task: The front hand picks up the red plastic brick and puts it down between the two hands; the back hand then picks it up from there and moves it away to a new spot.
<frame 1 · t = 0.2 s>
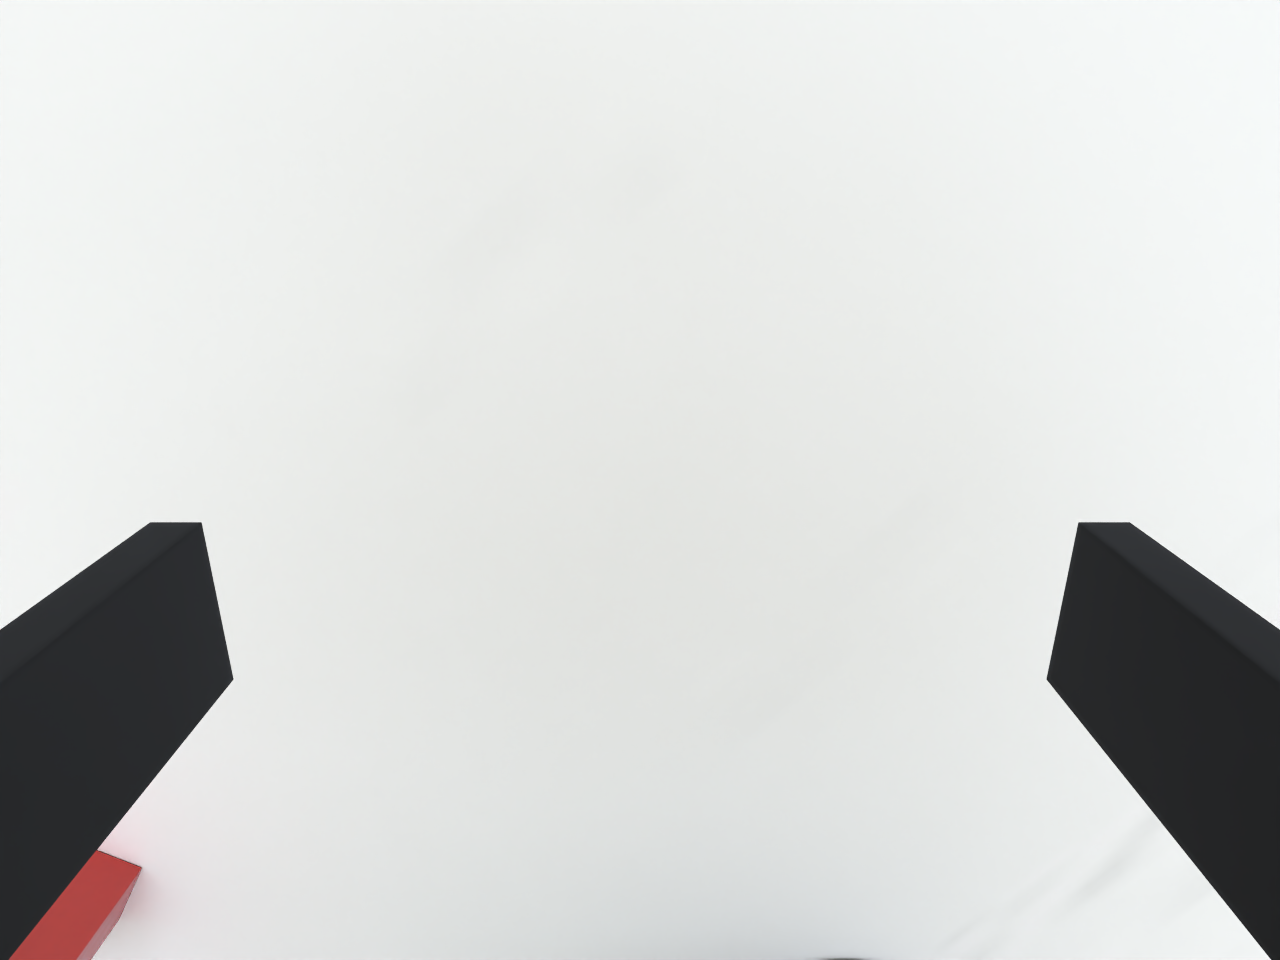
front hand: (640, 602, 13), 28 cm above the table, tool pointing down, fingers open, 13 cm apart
brick: (69, 871, 51), on the table
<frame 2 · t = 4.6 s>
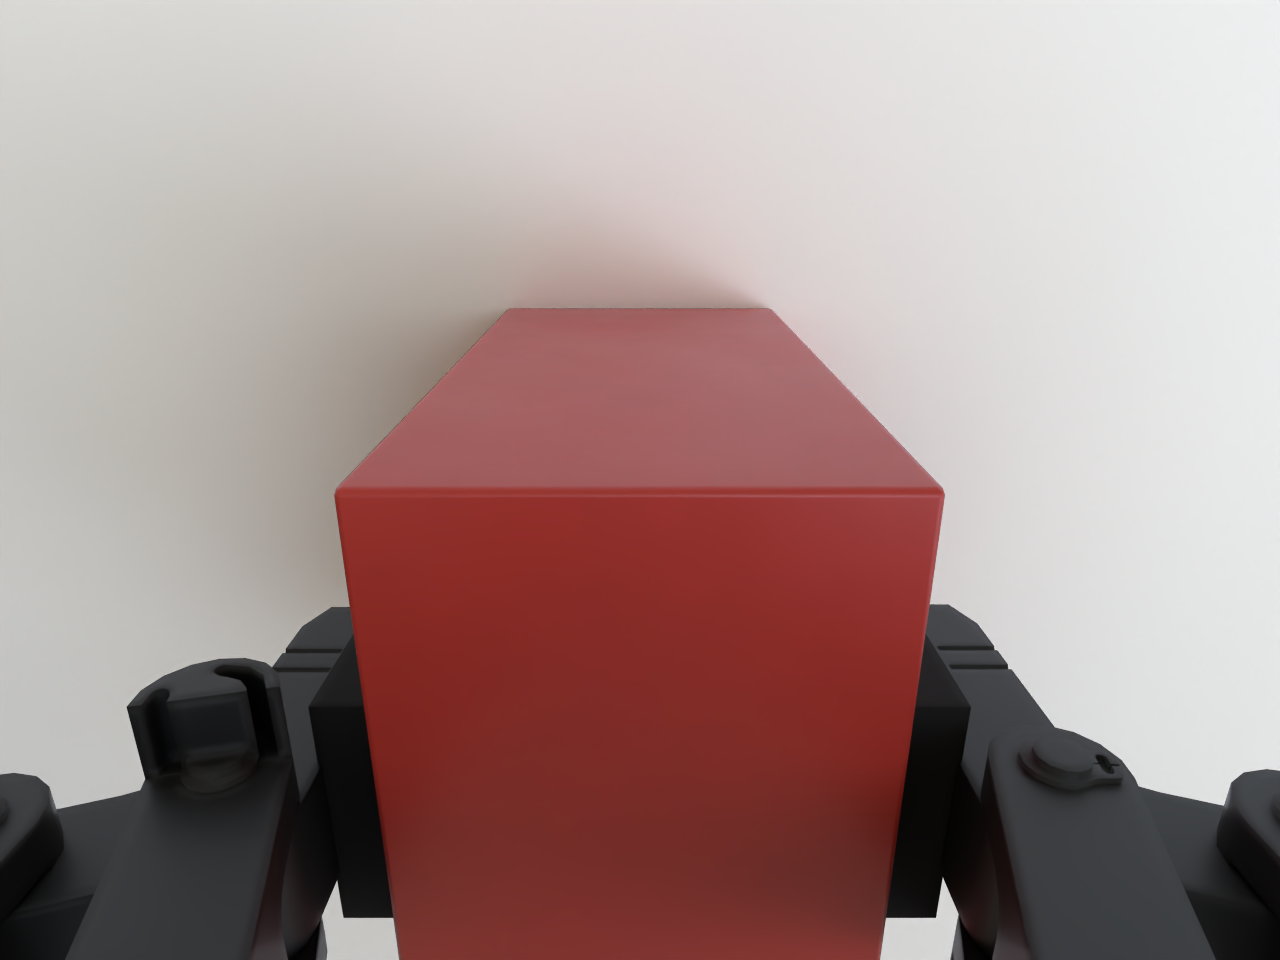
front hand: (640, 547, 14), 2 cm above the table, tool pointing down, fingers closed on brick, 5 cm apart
brick: (639, 499, 17), on the table, touching front hand
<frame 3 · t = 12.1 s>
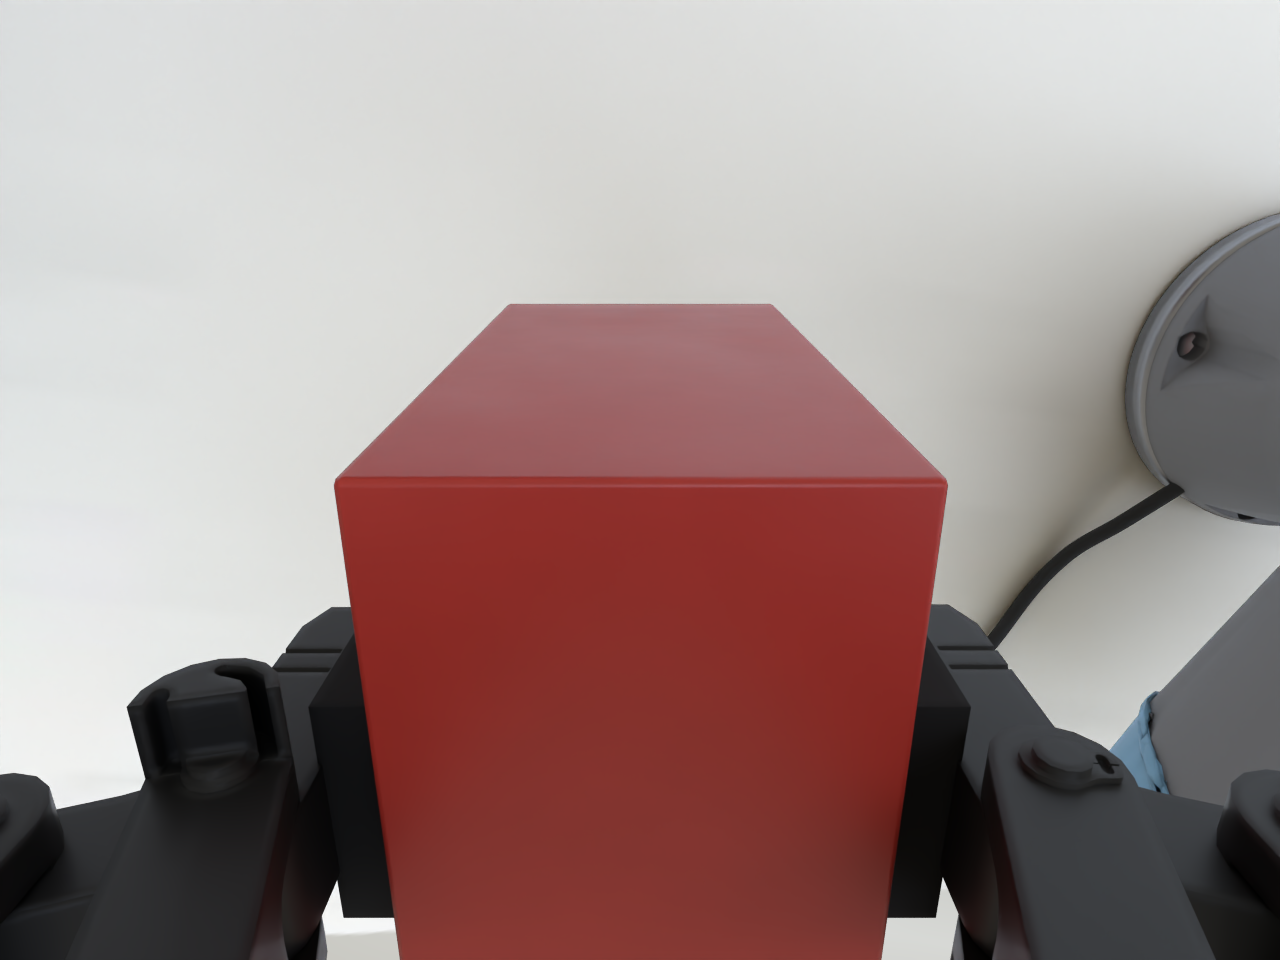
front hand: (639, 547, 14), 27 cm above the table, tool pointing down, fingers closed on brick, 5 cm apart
brick: (640, 495, 16), point 25 cm above the table, touching front hand
when the front hand's fingers open (4 cm above the table, at t = 19.5 s): brick drops 1 cm, on the table.
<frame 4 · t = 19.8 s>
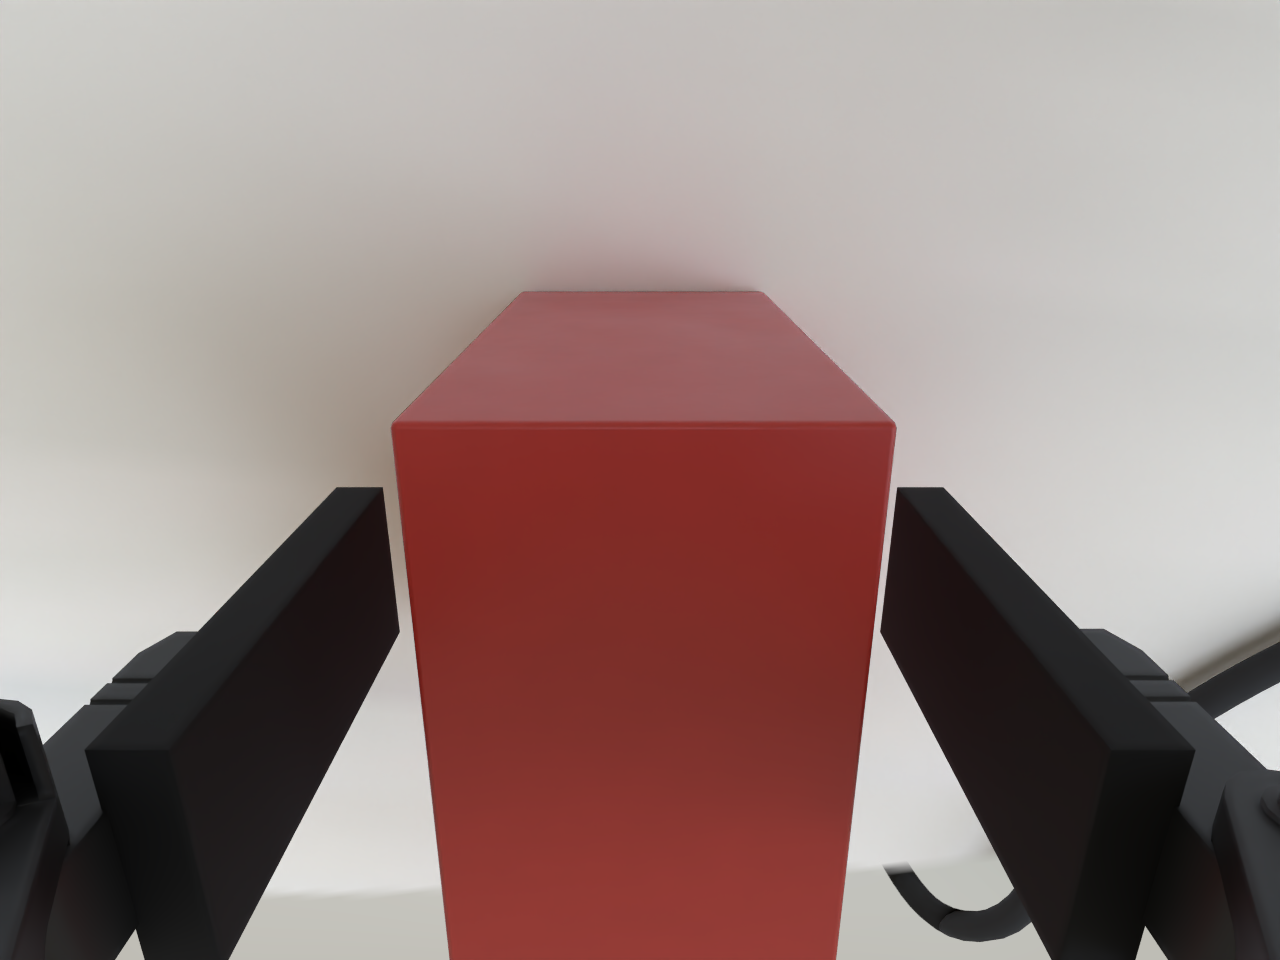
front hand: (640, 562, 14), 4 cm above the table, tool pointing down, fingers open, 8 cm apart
brick: (642, 469, 18), on the table
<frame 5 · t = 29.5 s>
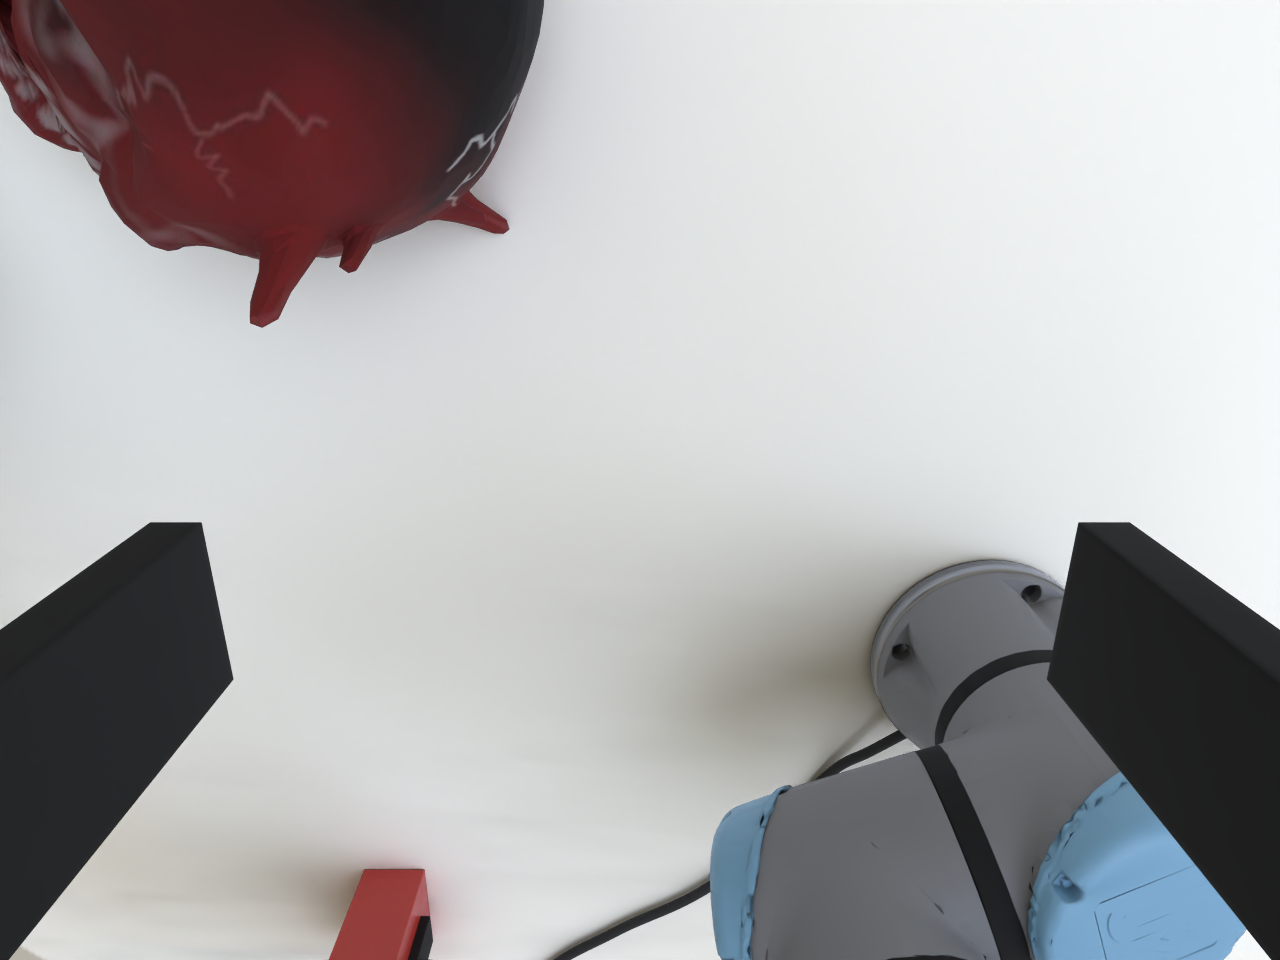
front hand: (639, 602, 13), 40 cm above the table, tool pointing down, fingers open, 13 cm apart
dark red round lump: (332, 32, 46), on the table
brick: (399, 904, 68), on the table, touching back hand
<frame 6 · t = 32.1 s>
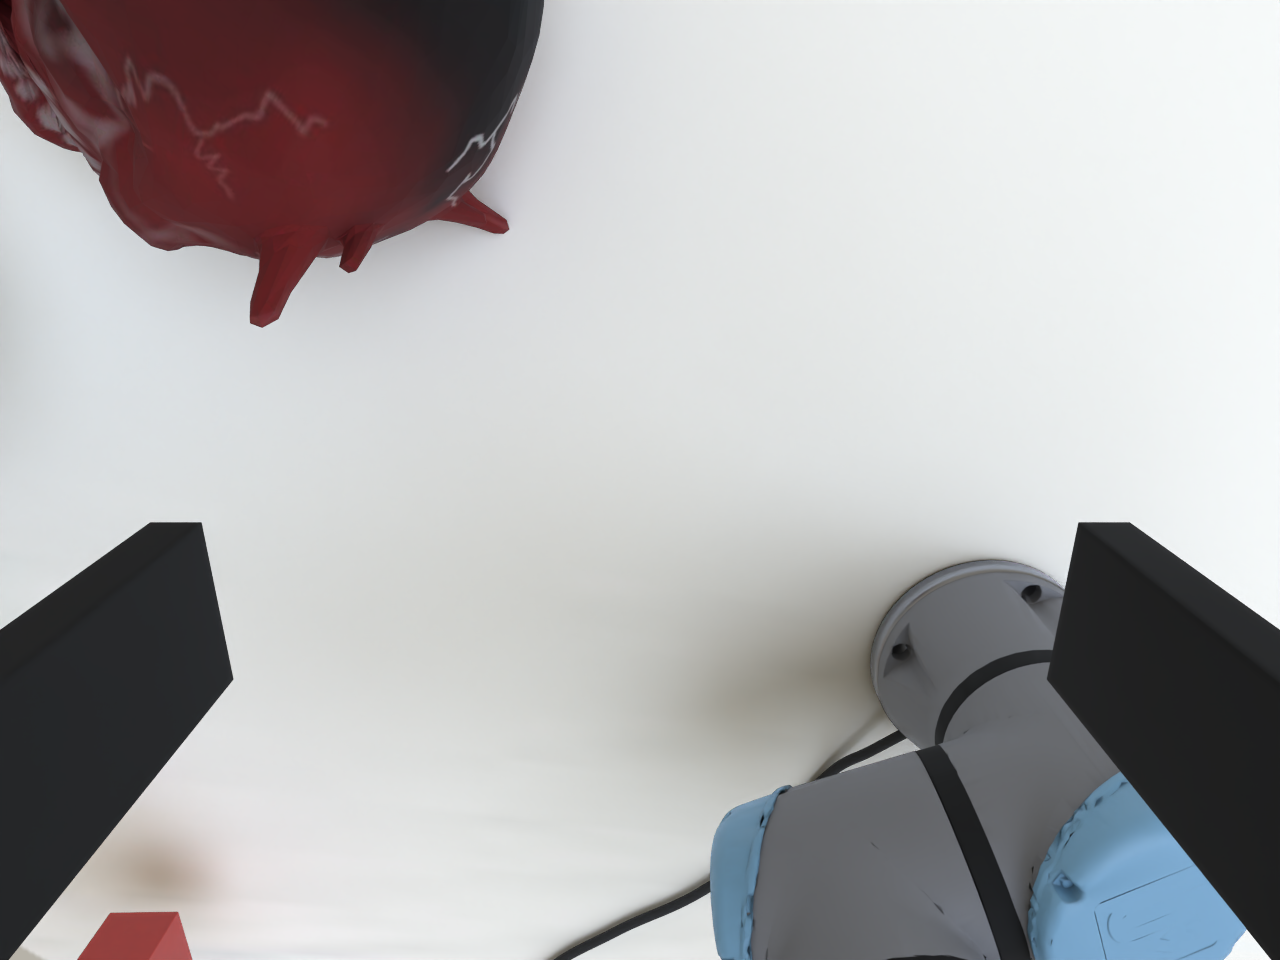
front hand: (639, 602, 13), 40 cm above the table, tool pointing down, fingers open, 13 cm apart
dark red round lump: (332, 32, 46), on the table
brick: (156, 950, 60), point 7 cm above the table, touching back hand
when the back hand's fingers open (4 cm above the table, at t = 34.5 s): brick drops 1 cm, on the table.
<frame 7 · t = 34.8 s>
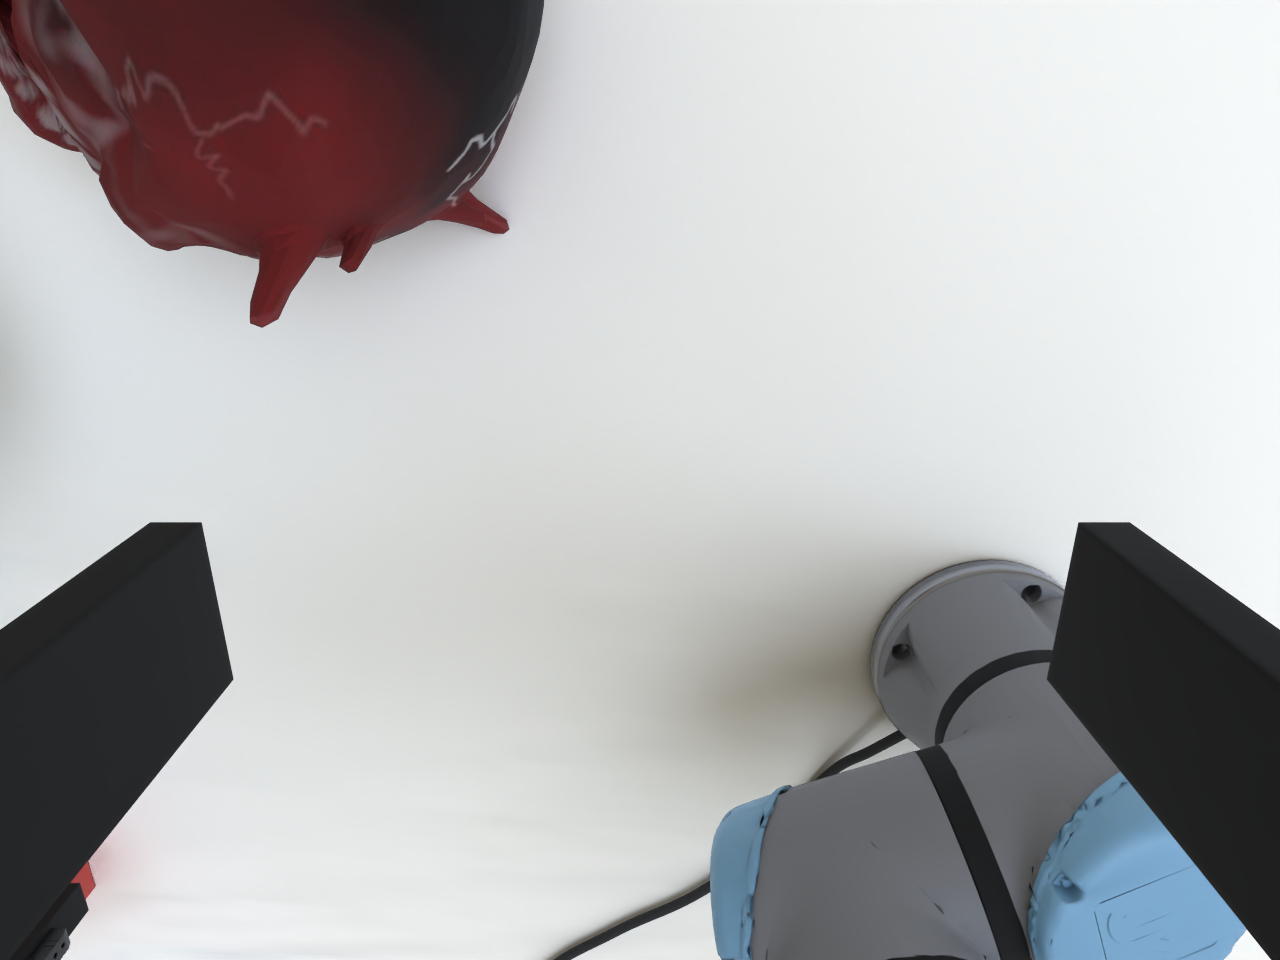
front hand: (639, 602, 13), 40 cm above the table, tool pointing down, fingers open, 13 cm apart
dark red round lump: (332, 32, 46), on the table
brick: (54, 850, 66), on the table
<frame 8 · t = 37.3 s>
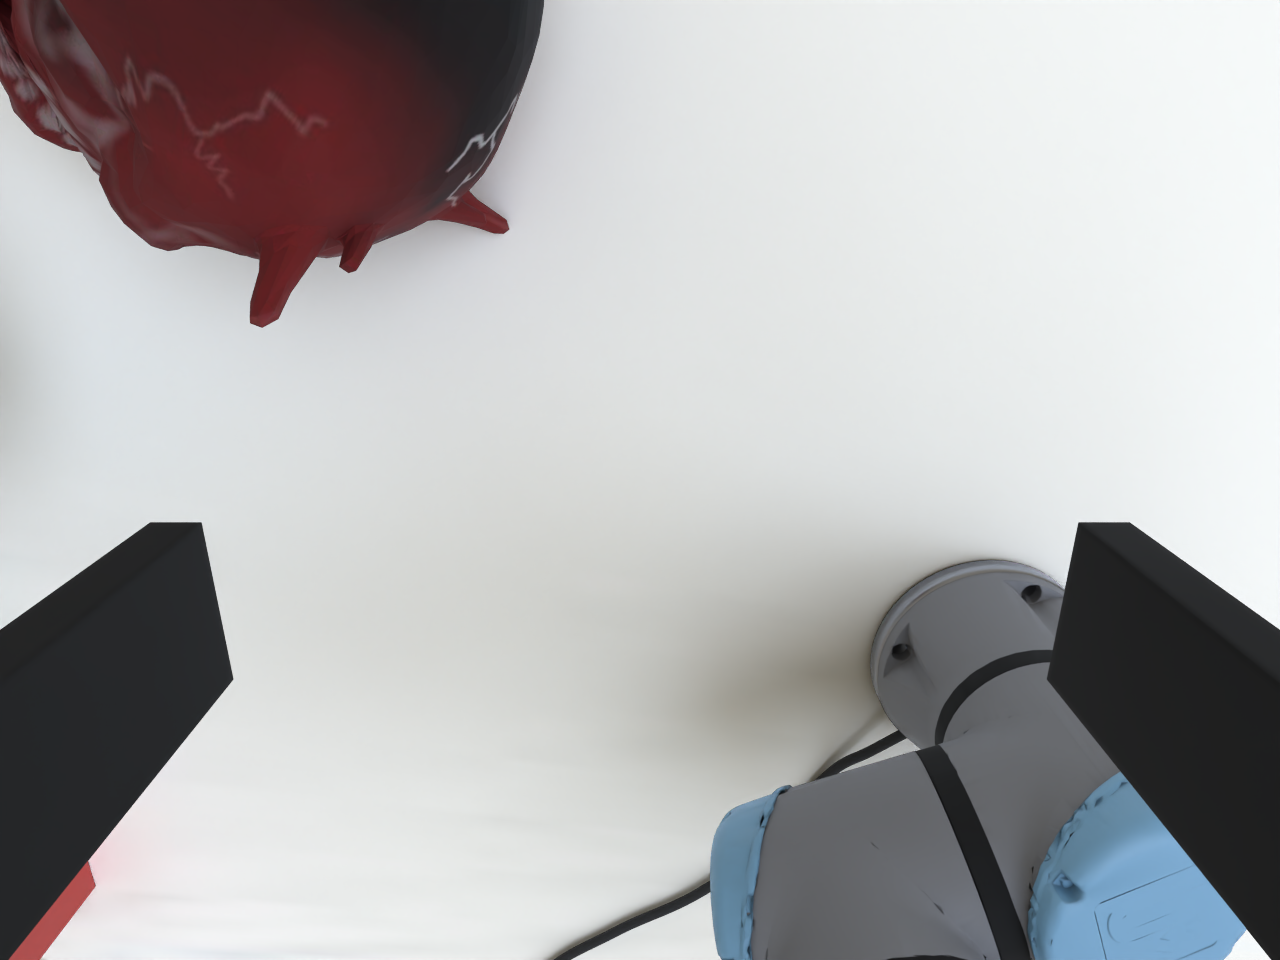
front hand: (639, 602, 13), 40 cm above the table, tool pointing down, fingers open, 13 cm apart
dark red round lump: (332, 32, 46), on the table
brick: (54, 850, 66), on the table
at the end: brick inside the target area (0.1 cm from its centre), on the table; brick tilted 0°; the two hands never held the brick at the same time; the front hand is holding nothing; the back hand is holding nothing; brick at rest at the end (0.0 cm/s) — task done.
